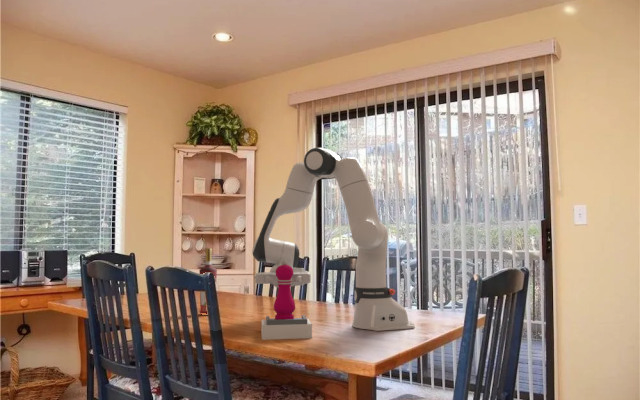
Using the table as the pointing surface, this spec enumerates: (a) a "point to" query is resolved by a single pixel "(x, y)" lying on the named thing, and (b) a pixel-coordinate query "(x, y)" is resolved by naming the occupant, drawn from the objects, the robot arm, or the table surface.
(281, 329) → the dock
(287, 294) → the pepper mill
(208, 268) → the liquor
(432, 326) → the table surface
